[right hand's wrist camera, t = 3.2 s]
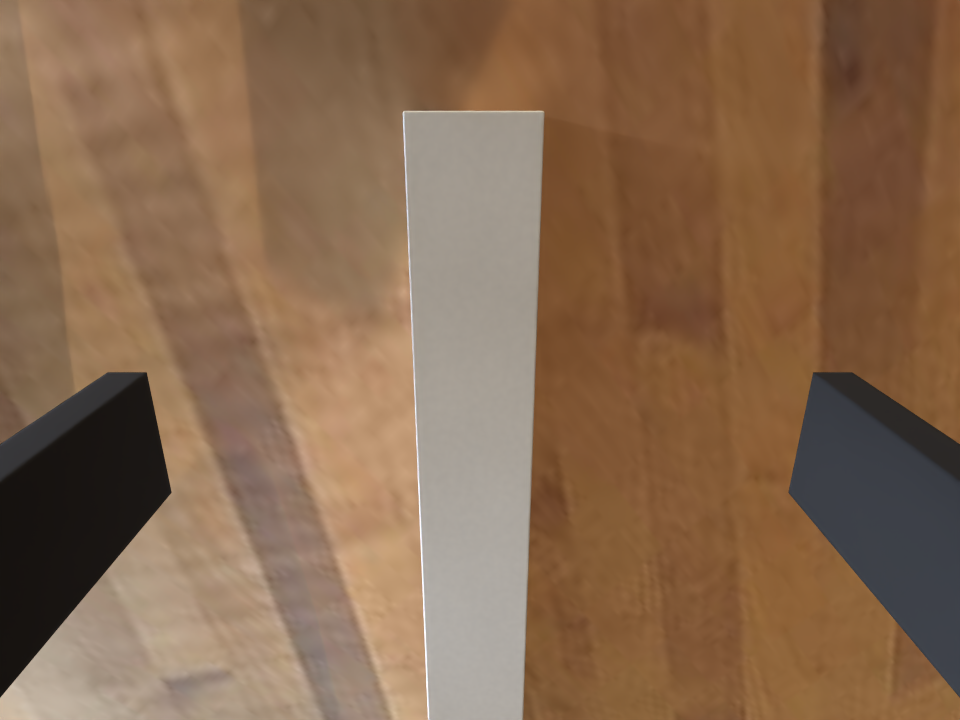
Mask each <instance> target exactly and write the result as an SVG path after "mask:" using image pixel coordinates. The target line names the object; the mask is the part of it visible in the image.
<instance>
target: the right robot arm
mask: <svg viewBox="0 0 960 720" xmlns="http://www.w3.org/2000/svg"><path fill="white" fill-rule="evenodd" d="M170 494H171V488H170V483H169V478H168V473H167V468H166V464H165V459H164V454H163V449H162V444H161V439H160V435H159V430H158V425H157V420H156V415H155V410H154V406H153V401H152V396H151V391H150V386H149V381H148V377H147V372H108V373H106V374H105V375H103V376H102V377H100V378H99V379H97V380H96V381H94V382H93V383H91V384H90V385H88V386H87V387H85V388H84V389H82V390H81V391H79V392H78V393H76V394H75V395H73V396H72V397H70V398H69V399H67V400H66V401H64V402H63V403H61V404H60V405H58V406H57V407H55V408H54V409H52V410H51V411H49V412H48V413H46V414H45V415H43V416H42V417H40V418H39V419H37V420H36V421H34V422H33V423H31V424H30V425H28V426H27V427H25V428H24V429H22V430H21V431H19V432H18V433H16V434H15V435H13V436H12V437H10V438H9V439H7V440H6V441H4V442H3V443H1V444H0V697H1V696H2V695H3V694H4V692H5V691H6V690H7V689H8V688H9V686H10V685H11V684H12V683H13V682H14V680H15V679H16V678H17V677H18V676H19V674H20V673H21V672H22V671H23V670H24V668H25V667H26V666H27V665H28V664H29V662H30V661H31V660H32V659H33V658H34V656H35V655H36V654H37V653H38V652H39V651H40V649H41V648H42V647H43V646H44V645H45V643H46V642H47V641H48V640H49V639H50V637H51V636H52V635H53V634H54V633H55V631H56V630H57V629H58V628H59V627H60V625H61V624H62V623H63V622H64V621H65V619H66V618H67V617H68V616H69V615H70V613H71V612H72V611H73V610H74V609H75V607H76V606H77V605H78V604H79V603H80V601H81V600H82V599H83V598H84V597H85V595H86V594H87V593H88V592H89V591H90V590H91V588H92V587H93V586H94V585H95V584H96V582H97V581H98V580H99V579H100V578H101V576H102V575H103V574H104V573H105V572H106V570H107V569H108V568H109V567H110V566H111V564H112V563H113V562H114V561H115V560H116V558H117V557H118V556H119V555H120V554H121V552H122V551H123V550H124V549H125V548H126V546H127V545H128V544H129V543H130V542H131V540H132V539H133V538H134V537H135V536H136V535H137V533H138V532H139V531H140V530H141V529H142V527H143V526H144V525H145V524H146V523H147V521H148V520H149V519H150V518H151V517H152V515H153V514H154V513H155V512H156V511H157V509H158V508H159V507H160V506H161V505H162V503H163V502H164V501H165V500H166V499H167V497H168V496H169V495H170ZM789 494H790V495H791V496H792V497H793V499H794V500H795V501H796V502H797V503H798V505H799V506H800V507H801V508H802V509H803V511H804V512H805V513H806V514H807V515H808V517H809V518H810V519H811V520H812V521H813V523H814V524H815V525H816V526H817V527H818V529H819V530H820V531H821V532H822V533H823V535H824V536H825V537H826V538H827V539H828V540H829V542H830V543H831V544H832V545H833V546H834V548H835V549H836V550H837V551H838V552H839V554H840V555H841V556H842V557H843V558H844V560H845V561H846V562H847V563H848V564H849V566H850V567H851V568H852V569H853V570H854V572H855V573H856V574H857V575H858V576H859V578H860V579H861V580H862V581H863V582H864V584H865V585H866V586H867V587H868V588H869V590H870V591H871V592H872V593H873V594H874V595H875V597H876V598H877V599H878V600H879V601H880V603H881V604H882V605H883V606H884V607H885V609H886V610H887V611H888V612H889V613H890V615H891V616H892V617H893V618H894V619H895V621H896V622H897V623H898V624H899V625H900V627H901V628H902V629H903V630H904V631H905V633H906V634H907V635H908V636H909V637H910V639H911V640H912V641H913V642H914V643H915V645H916V646H917V647H918V648H919V649H920V651H921V652H922V653H923V654H924V655H925V656H926V658H927V659H928V660H929V661H930V662H931V664H932V665H933V666H934V667H935V668H936V670H937V671H938V672H939V673H940V674H941V676H942V677H943V678H944V679H945V680H946V682H947V683H948V684H949V685H950V686H951V688H952V689H953V690H954V691H955V692H956V694H957V695H958V696H959V697H960V444H959V443H957V442H956V441H954V440H953V439H951V438H950V437H948V436H947V435H945V434H944V433H942V432H941V431H939V430H938V429H936V428H935V427H933V426H932V425H930V424H929V423H927V422H926V421H924V420H923V419H921V418H920V417H918V416H917V415H915V414H914V413H912V412H911V411H909V410H908V409H906V408H905V407H903V406H902V405H900V404H899V403H897V402H896V401H894V400H893V399H891V398H890V397H888V396H887V395H885V394H884V393H882V392H881V391H879V390H878V389H876V388H875V387H873V386H872V385H870V384H869V383H867V382H866V381H864V380H863V379H861V378H860V377H858V376H857V375H855V374H854V373H852V372H813V377H812V381H811V386H810V391H809V396H808V401H807V406H806V410H805V415H804V420H803V425H802V430H801V435H800V439H799V444H798V449H797V454H796V459H795V464H794V468H793V473H792V478H791V483H790V488H789Z"/></svg>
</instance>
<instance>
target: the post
mask: <svg viewBox="0 0 960 720" xmlns="http://www.w3.org/2000/svg"><path fill="white" fill-rule="evenodd" d="M403 132H404V156H405V179H406V203H407V227H408V250H409V274H410V298H411V322H412V345H413V369H414V393H415V417H416V440H417V464H418V488H419V512H420V535H421V559H422V583H423V606H424V630H425V654H426V678H427V701H428V720H523V708H524V680H525V651H526V623H527V594H528V566H529V538H530V509H531V481H532V452H533V424H534V395H535V367H536V339H537V310H538V282H539V253H540V225H541V197H542V168H543V140H544V111H403Z"/></svg>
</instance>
